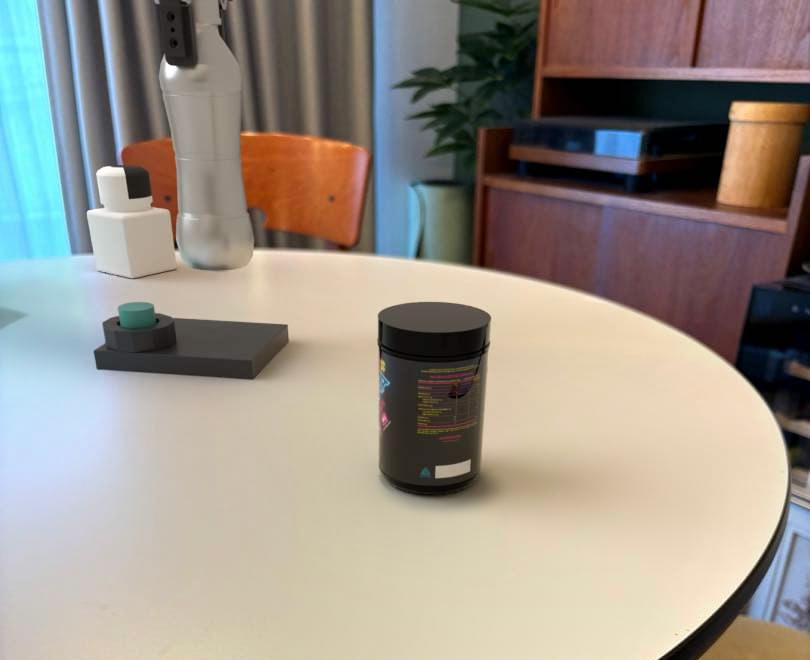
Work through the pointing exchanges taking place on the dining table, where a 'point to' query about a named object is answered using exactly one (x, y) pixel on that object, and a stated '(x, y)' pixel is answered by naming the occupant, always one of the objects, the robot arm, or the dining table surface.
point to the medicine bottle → (130, 225)
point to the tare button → (137, 314)
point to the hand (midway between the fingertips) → (198, 64)
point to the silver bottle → (208, 150)
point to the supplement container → (432, 395)
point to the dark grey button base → (191, 347)
